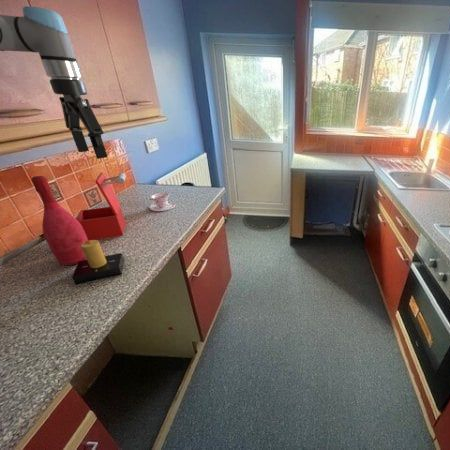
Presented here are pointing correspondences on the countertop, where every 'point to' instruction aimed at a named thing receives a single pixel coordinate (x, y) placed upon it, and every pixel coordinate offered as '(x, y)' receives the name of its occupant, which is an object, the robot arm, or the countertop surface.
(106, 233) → the cabinet
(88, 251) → the yellow cylinder
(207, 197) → the countertop surface
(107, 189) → the cabinet door
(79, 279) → the panel
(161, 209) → the teacup
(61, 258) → the wine bottle
